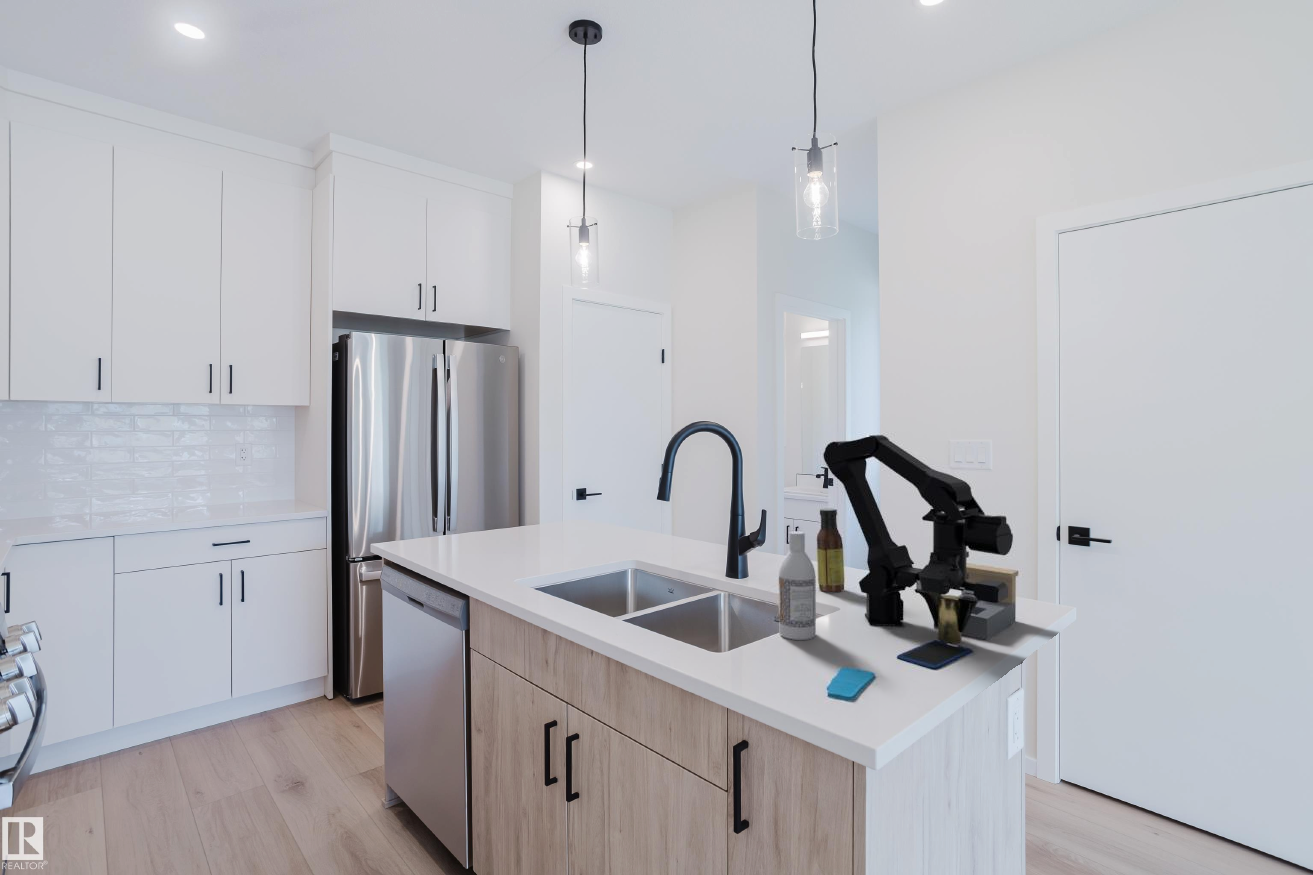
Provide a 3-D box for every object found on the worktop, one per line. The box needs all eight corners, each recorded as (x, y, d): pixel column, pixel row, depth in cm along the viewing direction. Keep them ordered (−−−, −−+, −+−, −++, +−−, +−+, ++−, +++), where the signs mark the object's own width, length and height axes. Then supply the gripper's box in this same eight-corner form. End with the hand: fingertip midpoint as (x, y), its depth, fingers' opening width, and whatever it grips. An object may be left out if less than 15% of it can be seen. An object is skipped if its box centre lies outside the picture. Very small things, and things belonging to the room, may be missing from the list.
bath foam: (783, 627, 131) (783, 528, 130) (818, 631, 128) (818, 530, 127) (775, 638, 124) (774, 534, 124) (811, 643, 122) (811, 536, 121)
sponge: (813, 690, 99) (851, 694, 96) (840, 665, 109) (875, 669, 106) (814, 700, 99) (852, 705, 96) (841, 674, 109) (876, 678, 106)
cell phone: (974, 653, 117) (974, 649, 117) (934, 672, 108) (934, 668, 108) (935, 642, 122) (935, 638, 122) (894, 660, 114) (894, 656, 114)
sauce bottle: (847, 589, 160) (847, 508, 159) (839, 594, 155) (839, 511, 154) (822, 585, 164) (821, 506, 163) (813, 590, 158) (812, 509, 158)
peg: (941, 643, 121) (941, 600, 121) (935, 635, 125) (935, 594, 125) (964, 643, 120) (964, 600, 120) (957, 636, 124) (957, 595, 124)
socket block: (989, 640, 122) (990, 584, 122) (931, 627, 130) (931, 575, 130) (1018, 621, 133) (1018, 570, 133) (962, 610, 141) (962, 562, 141)
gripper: (882, 546, 123) (882, 627, 124) (986, 560, 110) (986, 652, 110) (908, 538, 131) (908, 615, 131) (1009, 551, 118) (1008, 636, 118)
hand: (949, 629), depth 123 cm, fingers closed on peg, 4 cm apart
